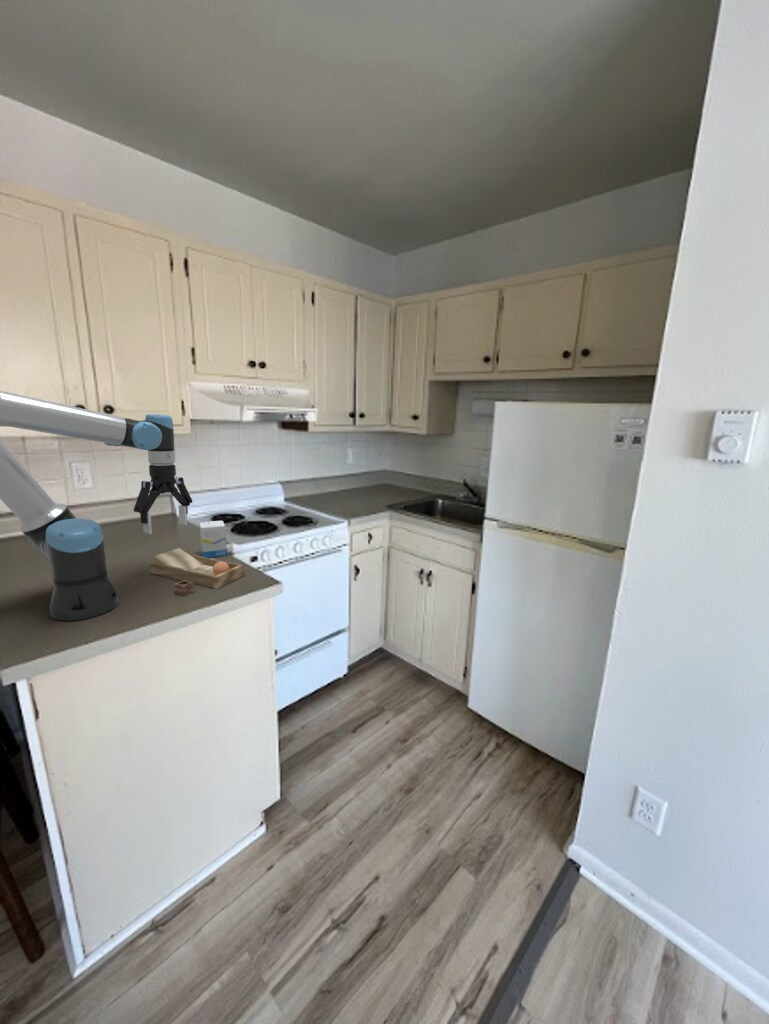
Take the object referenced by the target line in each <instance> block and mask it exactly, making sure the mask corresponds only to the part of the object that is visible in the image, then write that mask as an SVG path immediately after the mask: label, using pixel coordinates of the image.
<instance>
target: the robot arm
mask: <svg viewBox="0 0 769 1024" xmlns="http://www.w3.org/2000/svg"><path fill="white" fill-rule="evenodd" d="M0 426H1V427H9V428H14V429H15V428H16V429H22V430H27V431H33V432H39V433H46V434H51V435H57V436H64V437H70V438H73V439H74V438H76V439H81V440H87V441H93V442H99V443H103V444H104V445H105V446H108V447H109V446H110V447H127V448H133V449H139V450H142V451H147V459H148V463H149V465H148V470H149V471H148V472H149V477H150V481H147V480H142V481H140V482H141V484H140V487H141V488H140V491H139V493H138V495H137V498H136V502H135V504H134V506H133V512H135V513H139V514H140V523H141V524H142V528H143V529H142V530H143V533H144V534H147V535H152V534H153V531H152V517H151V512H149V511H150V510H151V509H152V507H153V505H154V503H155V502H156V500H157V498H158V497H159V496H160V495H164V494H166V493H168V494H171V495H172V496H173V497H174V498H175V500H176V501H177V502H178V504H180V505H178V517H179V518H178V520H179V522H178V523H179V525H182V526H187V525H188V517H187V515H188V513H189V512H188V510H189V509H188V507H190V506H191V504H192V503H193V499H192V497H191V495H190V493H189V491H188V489H187V486H186V485H185V482H184V481H185V480H184V477H183V476H182V477H181V476H176V475H177V470H176V465H175V463H176V457H175V455H176V454H175V442H174V441H175V438H174V435H175V434H174V431H175V429H174V422H173V418H172V416H170V415H168V414H150V413H149V414H148V413H147V414H145V418H144V420H136V419H131V418H127V417H122V416H118V415H113V414H108V413H105V412H99V411H95V410H91V409H86V408H80V407H77V406H72V405H68V404H63V403H59V402H53V401H50V400H45V399H41V398H36V397H35V398H34V397H31V396H26V395H22V394H17V393H14V392H13V393H11V392H8V391H7V392H6V391H3V390H0ZM175 485H176V486H175ZM0 500H1V501H2V503H3V504H4V505H5V506H6V507H7V508H8V509H9V511H10V512H12V513H13V514H14V515H15V516H16V517H17V518H18V520H19V521H21V525H20V528H19V530H20V531H21V533H23V534H24V536H25V537H27V538H28V540H29V541H31V543H32V544H33V546H34V547H35V549H36V550H37V551H38V552H40V553H41V554H43V555H44V556H45V557H46V558H47V559H48V560H49V562H50V568H51V574H52V579H53V589H52V593H51V598H50V601H49V606H48V610H49V616H50V617H51V618H52V619H53V620H57V621H65V622H66V621H67V622H68V621H69V622H70V621H80V620H85V619H86V620H87V619H91V618H94V617H97V616H100V615H104V614H106V613H107V612H110V611H111V610H113V609H114V608H116V607H117V606H118V604H119V595H118V592H117V590H116V588H115V587H114V585H113V583H112V581H111V579H110V578H109V576H108V569H107V561H106V560H107V559H106V553H105V552H106V551H105V544H104V532H103V530H102V526H101V525H100V523H98V522H97V521H95V520H94V519H93V520H92V519H89V518H87V519H86V518H77V517H76V516H75V514H73V512H72V511H71V510H70V509H69V507H67V505H66V504H63V503H56V502H55V501H54V500H53V499H52V498H51V496H50V495H49V494H48V493H47V492H46V491H45V490H44V489H43V487H42V486H41V485H40V484H39V483H38V482H37V480H36V479H35V478H34V477H33V476H32V475H31V474H30V473H29V471H28V470H27V469H26V467H24V466H23V465H22V464H21V462H20V461H19V460H18V459H17V457H15V455H14V454H13V453H12V452H11V451H10V450H9V449H8V447H7V446H6V445H5V443H3V442H2V441H1V440H0Z"/></svg>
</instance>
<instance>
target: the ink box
mask: <svg viewBox="0 0 769 1024" xmlns="http://www.w3.org/2000/svg"><path fill="white" fill-rule="evenodd" d="M198 526H199V539H200V552H201V554H202V556H201V557H206V558H211V559H212V558H218V557H226V556H228V552H227V551H228V550H227V536H226V535H227V533H226V525H225V523H224V521H223V520H213V521H212V520H210V521H204V522H203V521H202V522H199V524H198Z"/></svg>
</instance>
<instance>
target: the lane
mask: <svg viewBox="0 0 769 1024" xmlns="http://www.w3.org/2000/svg"><path fill="white" fill-rule="evenodd" d="M152 560H153V561H152V562H150V563H149V564H150V573H151V574H153V575H157V576H162V577H166V578H170V579H174V580H177V581H182V580H188V581H192V582H194V585H195V584H196V585H200V586H204V587H208V588H212V589H216V590H218V589H219V588H222V587H224V586H225V585H228V584H231V583H232V582H234V581H236V580H238V579H240V578H241V577H244V576H245V565H244V564H240V563H234V562H230V561H225V560H222V559H221V560H219V559H216V558H212V557H211V558H206V557H203V556H201V555H195V554H190V553H187V552H186V551H185V550H183V549H181V548H179V547H178V548H175V549H172V550H169V551H167V552H163V553H160V554H157V555H154V556H153V557H152ZM221 561H222V562H226V563H227V564H228V565H229V568H230V570H227V571H225V572H223V573H221V574H219V575H216V576H215V575H214V573H213V566H214V565H215V564H216V563H217V562H221Z"/></svg>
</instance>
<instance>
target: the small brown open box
mask: <svg viewBox="0 0 769 1024" xmlns="http://www.w3.org/2000/svg"><path fill="white" fill-rule="evenodd" d="M173 589H174V594H176V595H180V596H184V597H185V596H187V595H189V594H192V593H193V592H195V584H194V582H192V581H188V580H179V581H178V582H176V583H173Z"/></svg>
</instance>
